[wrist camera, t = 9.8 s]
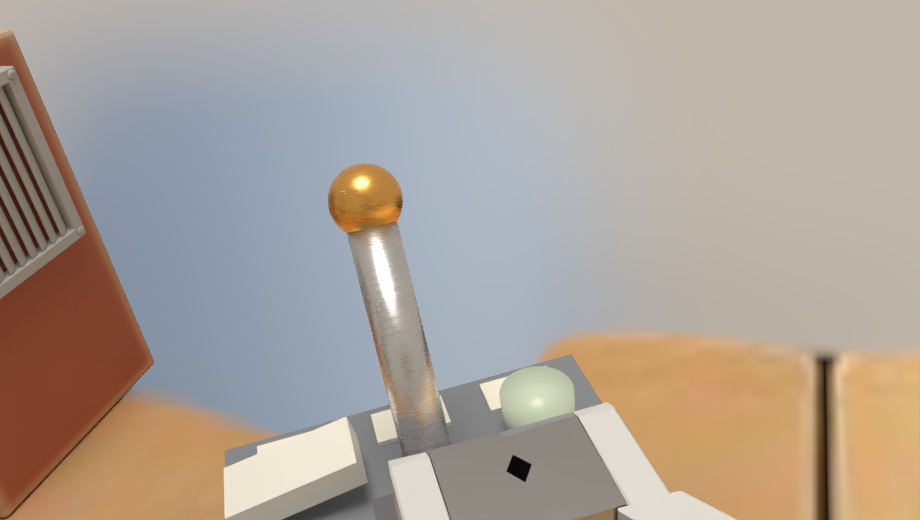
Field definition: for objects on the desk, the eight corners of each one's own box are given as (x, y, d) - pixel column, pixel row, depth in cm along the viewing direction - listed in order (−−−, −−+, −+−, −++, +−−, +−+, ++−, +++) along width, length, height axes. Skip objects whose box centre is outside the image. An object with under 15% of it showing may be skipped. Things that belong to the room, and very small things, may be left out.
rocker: (367, 482, 30) (356, 462, 30) (239, 537, 30) (224, 518, 29) (357, 436, 32) (346, 416, 32) (237, 487, 32) (223, 468, 31)
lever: (488, 534, 28) (396, 152, 27) (416, 556, 27) (319, 170, 26) (474, 508, 30) (389, 159, 29) (408, 528, 30) (319, 175, 29)
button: (587, 441, 32) (585, 404, 31) (517, 462, 32) (512, 425, 30) (560, 394, 35) (557, 358, 33) (494, 412, 34) (490, 377, 33)
